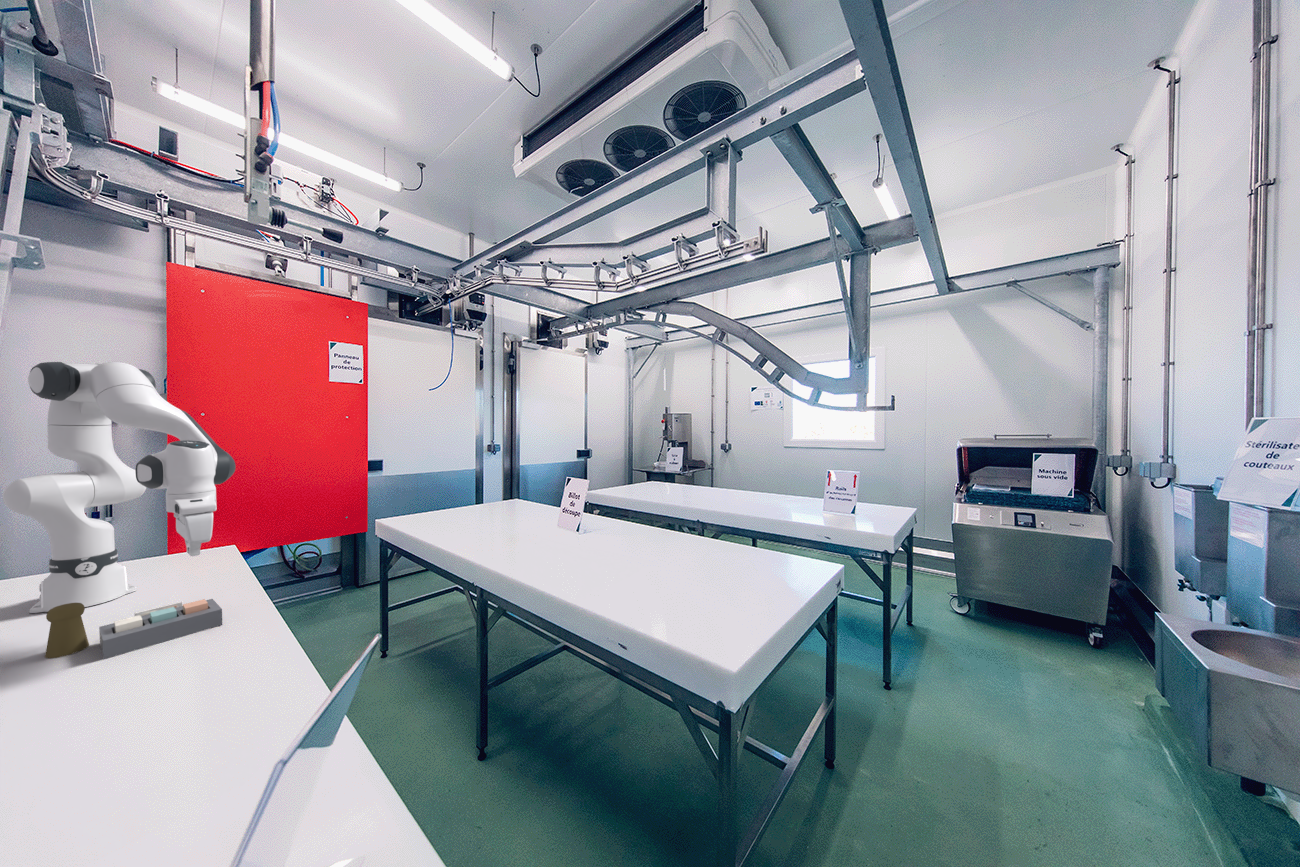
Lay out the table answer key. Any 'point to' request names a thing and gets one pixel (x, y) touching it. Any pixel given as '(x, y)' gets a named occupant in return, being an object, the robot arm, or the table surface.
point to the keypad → (158, 629)
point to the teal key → (162, 615)
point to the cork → (66, 630)
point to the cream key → (128, 623)
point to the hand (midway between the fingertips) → (193, 554)
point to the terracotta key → (195, 606)
